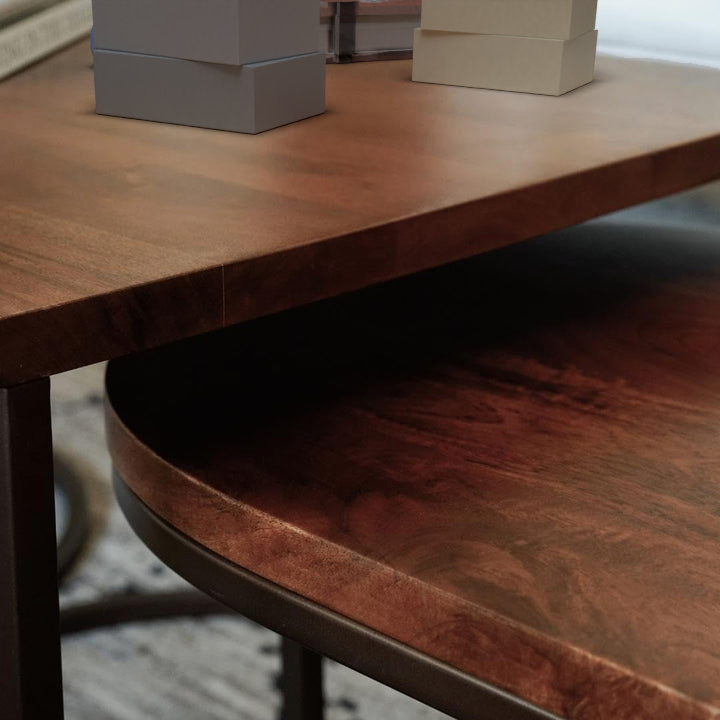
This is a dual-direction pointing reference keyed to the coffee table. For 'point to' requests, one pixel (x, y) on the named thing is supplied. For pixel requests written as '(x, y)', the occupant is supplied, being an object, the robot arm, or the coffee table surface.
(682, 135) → the coffee table surface
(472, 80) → the cream stack
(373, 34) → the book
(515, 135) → the coffee table surface
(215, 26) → the grey stack
